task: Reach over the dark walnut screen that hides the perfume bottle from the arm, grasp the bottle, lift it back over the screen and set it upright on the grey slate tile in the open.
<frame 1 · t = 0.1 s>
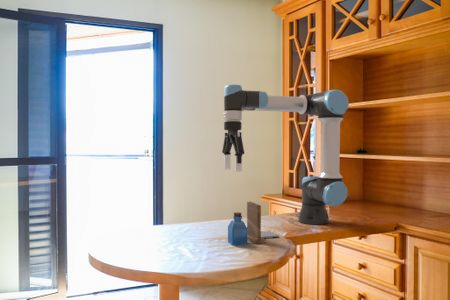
hand: (232, 170, 170), 28 cm above the table, fingers open, 13 cm apart
walnut screen: (253, 240, 162), on the table
slate tile: (264, 235, 169), on the table
perfume bottle: (237, 243, 157), on the table
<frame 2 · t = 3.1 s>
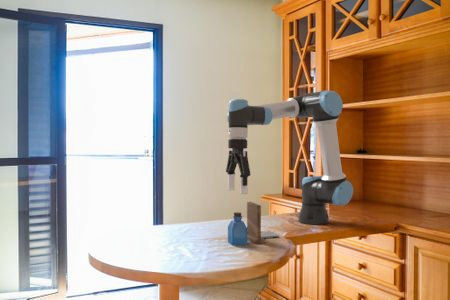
hand: (237, 192, 156), 20 cm above the table, fingers open, 13 cm apart
nothing on the table moved.
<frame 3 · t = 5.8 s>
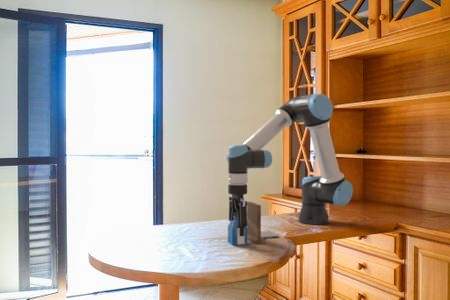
hand: (237, 241, 157), 1 cm above the table, fingers closed on perfume bottle, 6 cm apart
perfume bottle: (237, 243, 157), on the table, touching gripper
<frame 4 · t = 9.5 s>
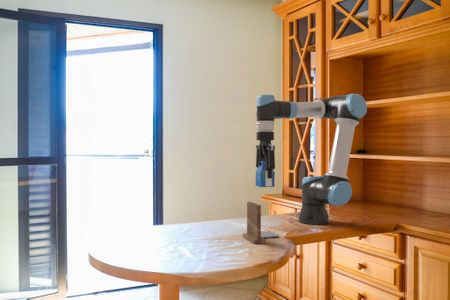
hand: (264, 185, 169), 22 cm above the table, fingers closed on perfume bottle, 6 cm apart
perfume bottle: (264, 186, 169), point 21 cm above the table, touching gripper
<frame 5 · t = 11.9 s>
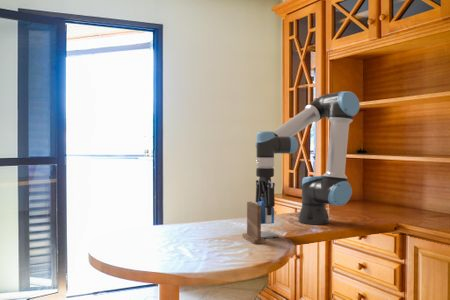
hand: (264, 221, 169), 6 cm above the table, fingers closed on perfume bottle, 6 cm apart
perfume bottle: (264, 222, 169), point 6 cm above the table, touching gripper
when the fingers open (3 cm above the table, at t = 13.6 s): perfume bottle drops 1 cm, resting on slate tile.
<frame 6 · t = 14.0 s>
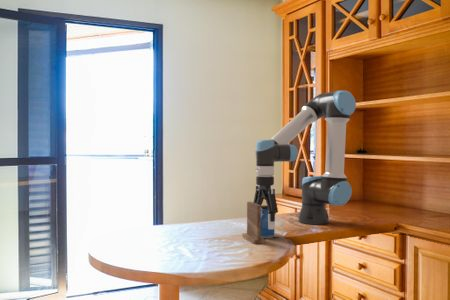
hand: (264, 226, 169), 4 cm above the table, fingers open, 12 cm apart
perfume bottle: (264, 234, 169), point 1 cm above the table, touching slate tile
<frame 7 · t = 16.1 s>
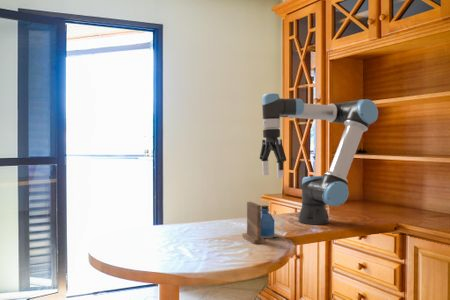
hand: (272, 176, 176), 25 cm above the table, fingers open, 13 cm apart
nothing on the table moved.
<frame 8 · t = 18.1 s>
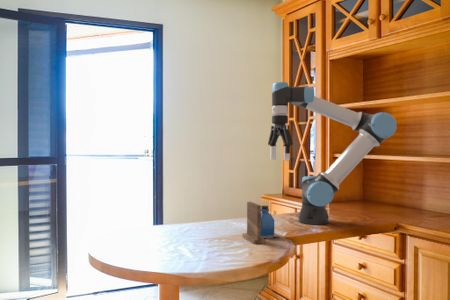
hand: (279, 160, 187), 32 cm above the table, fingers open, 13 cm apart
nothing on the table moved.
at the end: perfume bottle inside the target area on the slate tile (0.1 cm from its centre), point 0.6 cm above the slate tile's base; perfume bottle tilted 0°; the gripper is holding nothing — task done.
